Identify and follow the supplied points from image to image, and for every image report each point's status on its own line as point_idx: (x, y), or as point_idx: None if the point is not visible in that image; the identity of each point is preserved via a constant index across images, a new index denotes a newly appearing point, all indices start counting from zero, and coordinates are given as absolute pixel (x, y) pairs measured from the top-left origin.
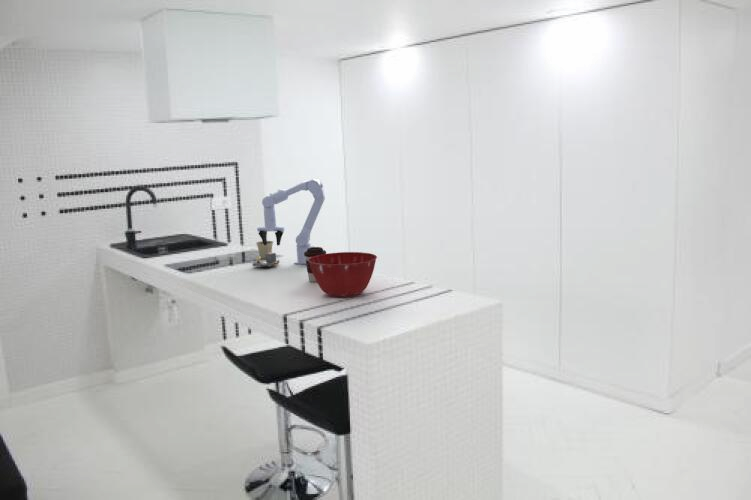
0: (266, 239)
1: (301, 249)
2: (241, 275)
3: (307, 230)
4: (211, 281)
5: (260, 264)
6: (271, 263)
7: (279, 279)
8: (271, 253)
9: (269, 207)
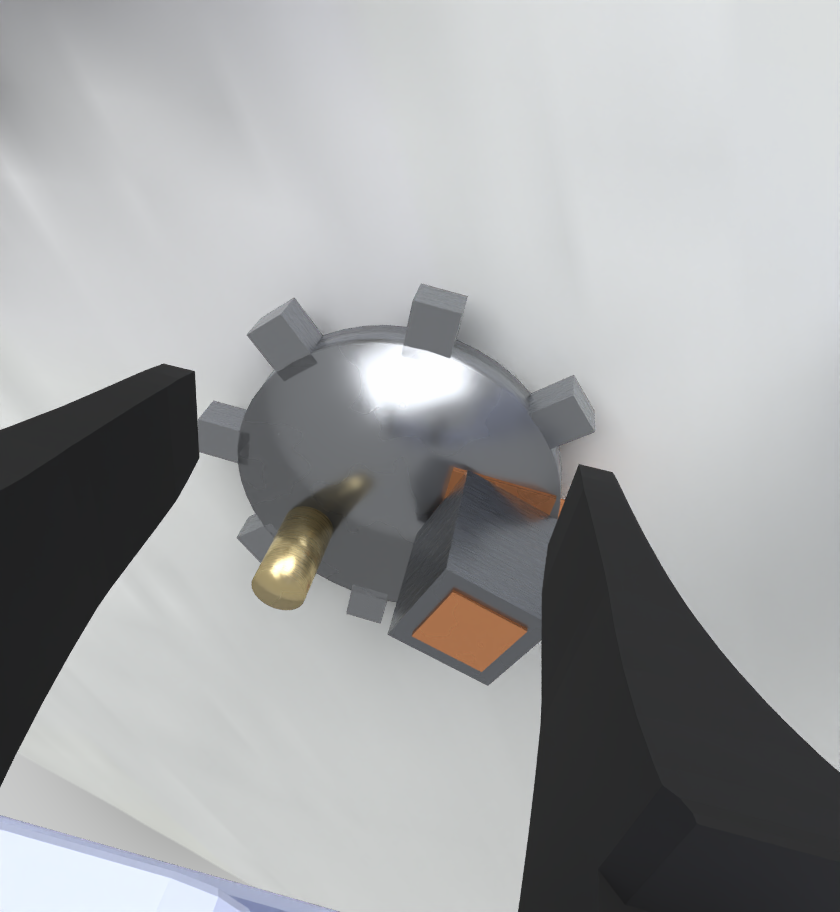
0: (101, 435)
1: None
2: (308, 734)
3: None
4: (182, 810)
5: (378, 611)
6: None
7: None
8: (491, 654)
9: None
